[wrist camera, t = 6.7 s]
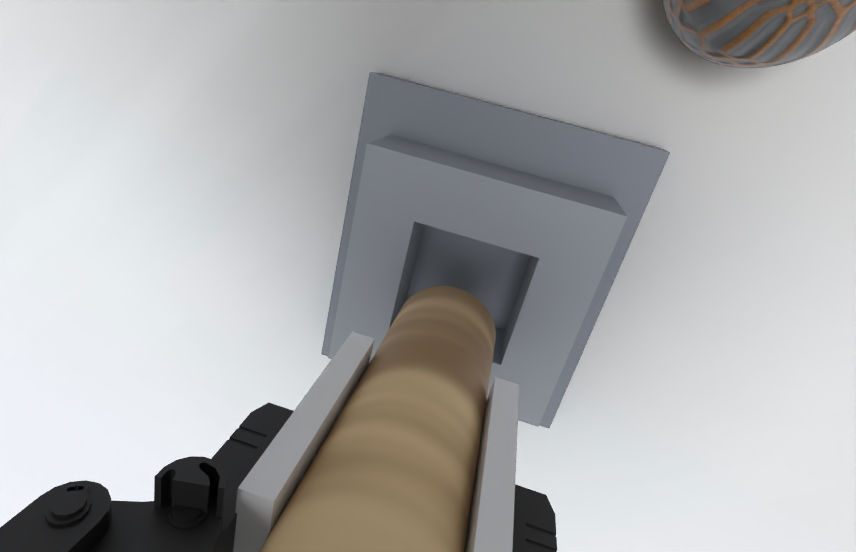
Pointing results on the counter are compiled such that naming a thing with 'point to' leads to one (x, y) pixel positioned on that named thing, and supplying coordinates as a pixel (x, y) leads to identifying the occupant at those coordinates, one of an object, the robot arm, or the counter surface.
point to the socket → (488, 226)
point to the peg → (402, 439)
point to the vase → (759, 28)
